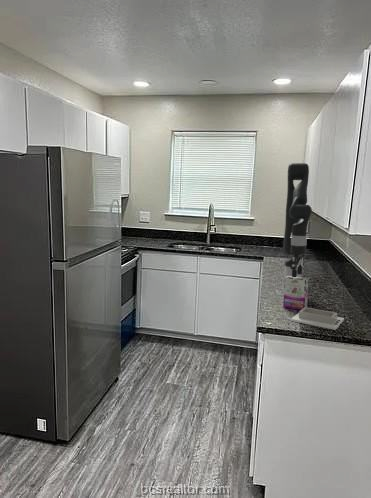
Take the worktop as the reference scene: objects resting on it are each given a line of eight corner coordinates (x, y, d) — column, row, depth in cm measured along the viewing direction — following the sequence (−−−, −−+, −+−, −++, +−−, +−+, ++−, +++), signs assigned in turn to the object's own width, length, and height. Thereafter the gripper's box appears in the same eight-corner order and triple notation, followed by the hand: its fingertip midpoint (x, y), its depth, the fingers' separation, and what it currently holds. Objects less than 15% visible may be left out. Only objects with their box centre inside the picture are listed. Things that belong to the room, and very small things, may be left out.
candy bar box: (307, 308, 192) (309, 277, 190) (304, 311, 188) (306, 279, 186) (286, 304, 198) (287, 274, 196) (282, 307, 194) (284, 276, 192)
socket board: (301, 312, 186) (302, 304, 186) (344, 320, 175) (344, 311, 175) (290, 320, 173) (291, 312, 173) (336, 330, 162) (336, 321, 162)
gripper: (295, 242, 196) (294, 272, 199) (286, 245, 185) (284, 277, 187) (310, 243, 192) (308, 274, 194) (301, 246, 181) (299, 279, 183)
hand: (296, 275), depth 191 cm, fingers open, 8 cm apart
